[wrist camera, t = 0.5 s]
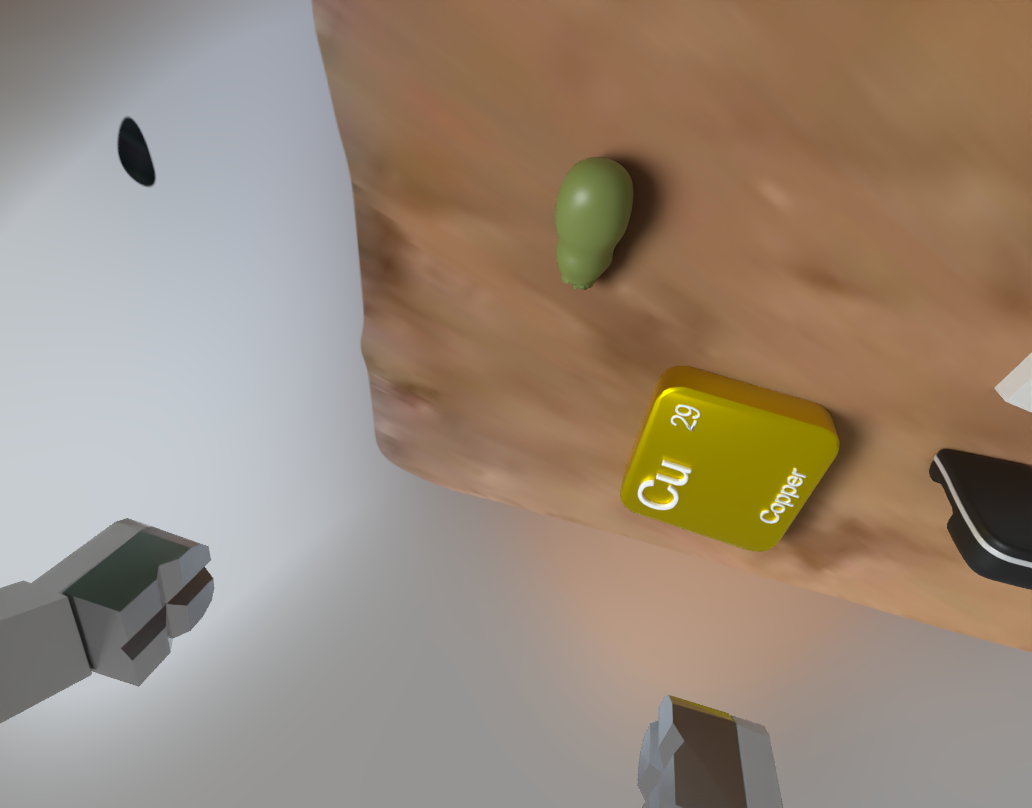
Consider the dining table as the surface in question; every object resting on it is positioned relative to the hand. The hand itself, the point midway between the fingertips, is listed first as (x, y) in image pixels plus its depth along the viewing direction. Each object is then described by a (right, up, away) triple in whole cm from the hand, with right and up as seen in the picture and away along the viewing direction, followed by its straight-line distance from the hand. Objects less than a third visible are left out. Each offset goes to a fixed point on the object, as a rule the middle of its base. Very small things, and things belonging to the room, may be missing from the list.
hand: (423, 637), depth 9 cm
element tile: (+21, 0, +42) cm, 47 cm away
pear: (+8, +19, +35) cm, 40 cm away
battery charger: (+39, -2, +36) cm, 54 cm away
